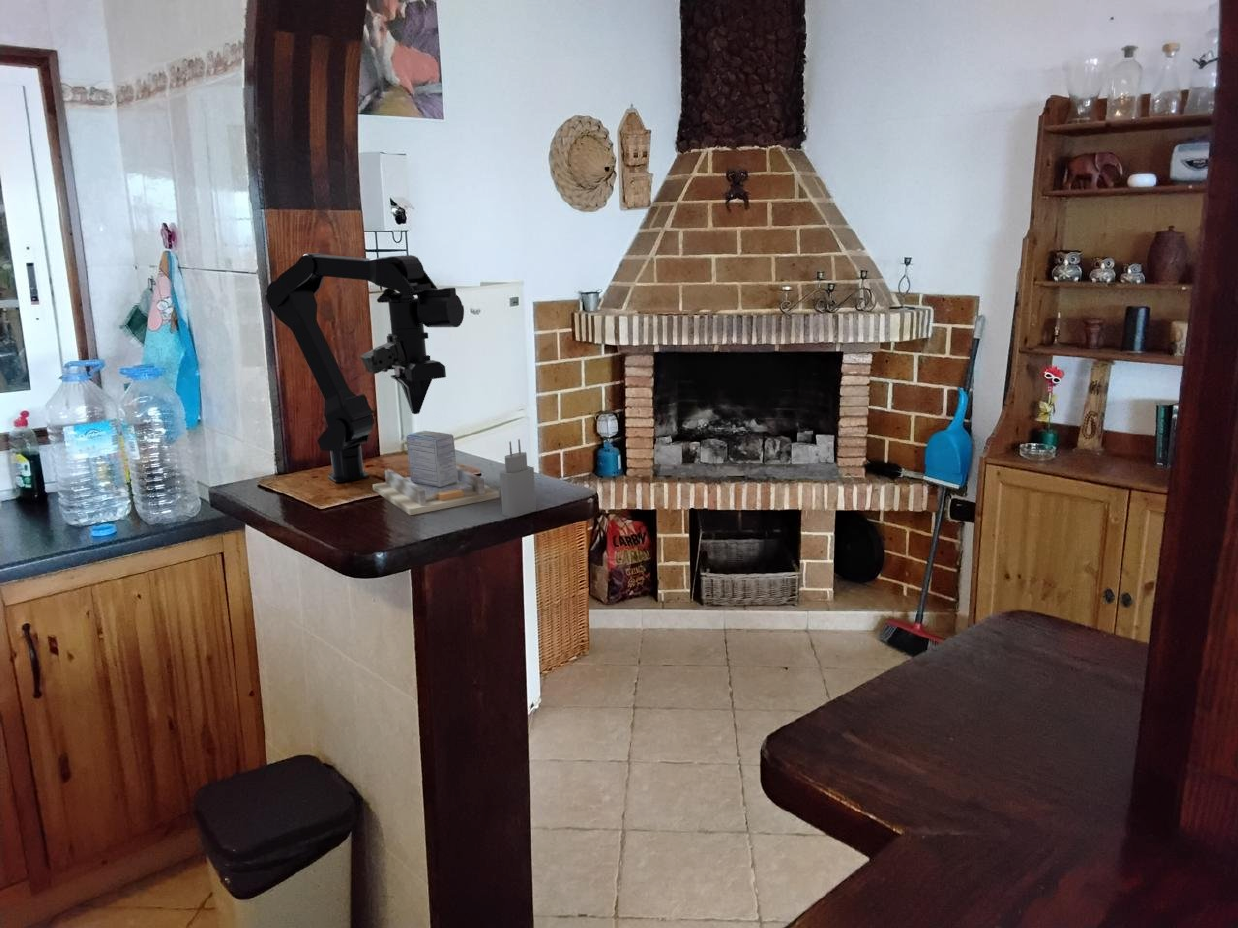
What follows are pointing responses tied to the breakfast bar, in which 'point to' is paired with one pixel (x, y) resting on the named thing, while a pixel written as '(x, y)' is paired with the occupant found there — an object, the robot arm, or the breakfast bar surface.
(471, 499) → the rail board
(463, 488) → the rail carriage
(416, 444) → the medicine box
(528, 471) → the power adapter
